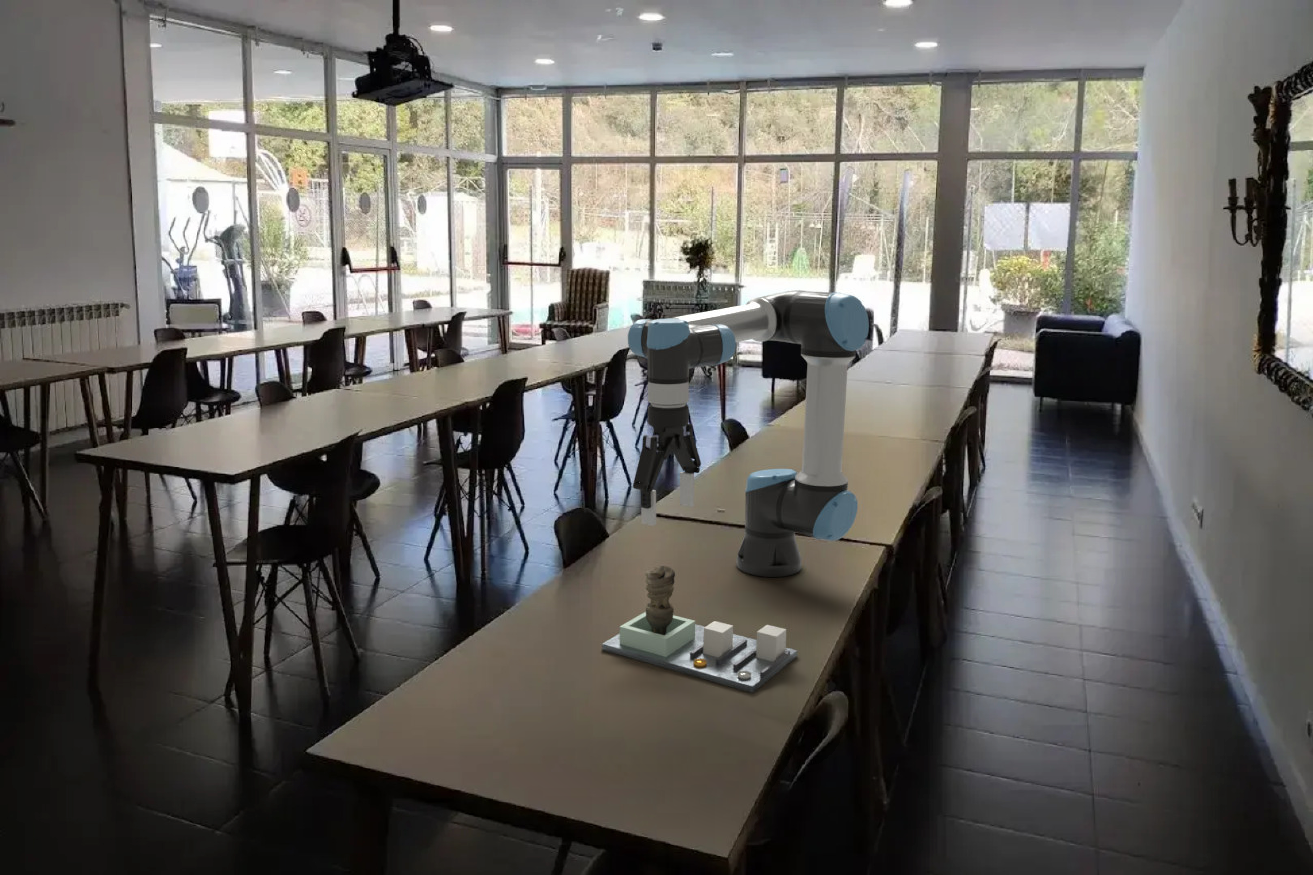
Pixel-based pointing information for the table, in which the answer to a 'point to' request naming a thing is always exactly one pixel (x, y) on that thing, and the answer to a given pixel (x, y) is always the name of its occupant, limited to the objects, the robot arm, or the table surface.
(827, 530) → the robot arm
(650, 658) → the panel
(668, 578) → the light bulb
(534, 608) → the table surface
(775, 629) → the block
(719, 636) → the block
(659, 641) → the socket
